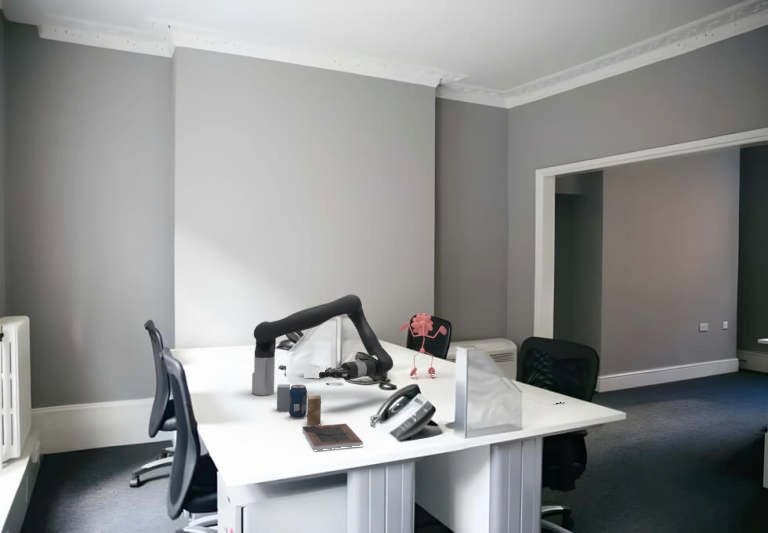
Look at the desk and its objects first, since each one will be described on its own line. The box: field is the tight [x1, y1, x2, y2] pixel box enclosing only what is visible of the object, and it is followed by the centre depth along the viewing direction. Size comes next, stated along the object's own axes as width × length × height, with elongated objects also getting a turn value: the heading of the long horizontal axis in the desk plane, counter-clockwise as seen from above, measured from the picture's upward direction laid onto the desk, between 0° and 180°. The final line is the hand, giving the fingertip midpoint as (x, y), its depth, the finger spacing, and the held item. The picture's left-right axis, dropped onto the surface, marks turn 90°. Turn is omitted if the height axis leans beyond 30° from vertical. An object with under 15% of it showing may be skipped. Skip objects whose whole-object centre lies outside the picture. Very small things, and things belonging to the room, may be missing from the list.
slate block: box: [276, 383, 291, 412], centre depth 225 cm, size 5×5×10 cm
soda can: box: [288, 384, 308, 419], centre depth 216 cm, size 7×7×12 cm
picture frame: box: [301, 423, 364, 451], centre depth 190 cm, size 16×2×22 cm
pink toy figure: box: [398, 312, 447, 378], centre depth 296 cm, size 15×26×35 cm, turn 102°
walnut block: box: [306, 394, 322, 426], centre depth 208 cm, size 5×5×10 cm
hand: (320, 375), depth 223 cm, fingers closed
